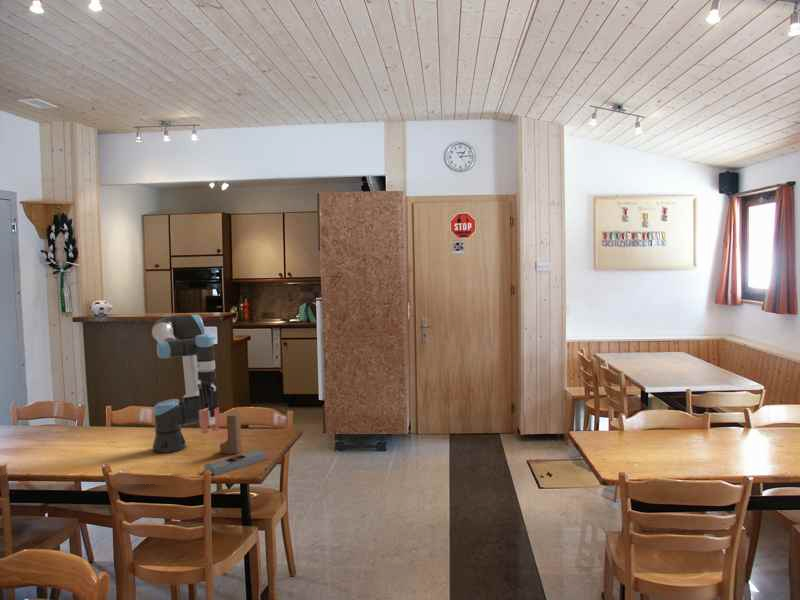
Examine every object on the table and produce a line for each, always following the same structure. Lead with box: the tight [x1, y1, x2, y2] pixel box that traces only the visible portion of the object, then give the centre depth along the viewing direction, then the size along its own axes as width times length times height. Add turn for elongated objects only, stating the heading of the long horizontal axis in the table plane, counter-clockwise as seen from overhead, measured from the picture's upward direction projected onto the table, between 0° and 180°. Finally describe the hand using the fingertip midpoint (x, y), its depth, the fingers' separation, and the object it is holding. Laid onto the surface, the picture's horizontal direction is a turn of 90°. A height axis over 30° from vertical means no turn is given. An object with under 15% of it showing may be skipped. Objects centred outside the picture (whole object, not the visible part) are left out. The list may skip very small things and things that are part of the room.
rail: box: [203, 449, 268, 476], centre depth 269 cm, size 8×26×3 cm, turn 137°
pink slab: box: [198, 406, 221, 435], centre depth 269 cm, size 3×8×10 cm, turn 136°
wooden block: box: [219, 413, 243, 455], centre depth 289 cm, size 9×4×18 cm, turn 74°
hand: (209, 423), depth 269 cm, fingers closed on pink slab, 3 cm apart
